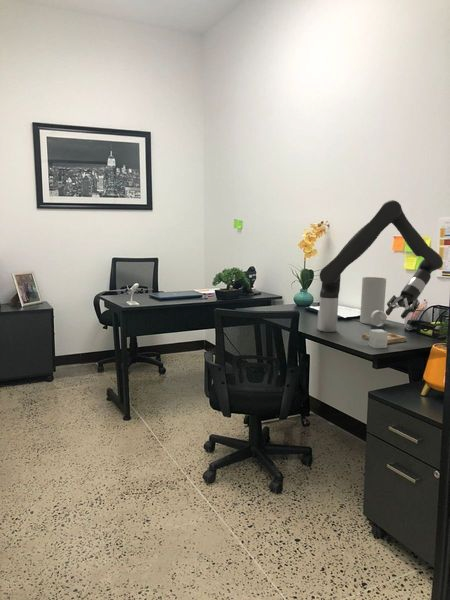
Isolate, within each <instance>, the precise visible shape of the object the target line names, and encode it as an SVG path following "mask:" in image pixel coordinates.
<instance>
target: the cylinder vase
mask: <svg viewBox="0 0 450 600" xmlns="http://www.w3.org/2000/svg"><path fill="white" fill-rule="evenodd" d="M361 279H362V280H361V283H362V284H361V298H360V314H359V316H360V317H359V323H362V324H364V325H369V326H371V325H373V324H372V322H371V319H370V318H371V314H372V313H373V312H374V311H376V310H379V311H383V312H384V313H385V305H386V304H385V303H386V302H385V301H386V290H387V278H385V277H374V276H366V277H365V276H364V277H362V278H361ZM374 321H375V323H376V325H379V324H380V323H381V322H382V319H381V318H380V316H379V312H377V313H375V314H374Z"/></svg>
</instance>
